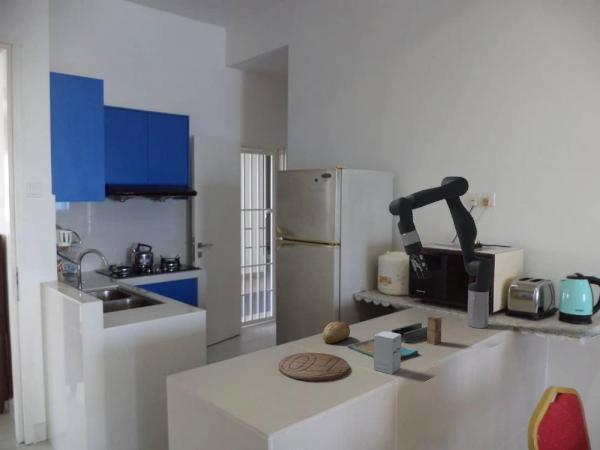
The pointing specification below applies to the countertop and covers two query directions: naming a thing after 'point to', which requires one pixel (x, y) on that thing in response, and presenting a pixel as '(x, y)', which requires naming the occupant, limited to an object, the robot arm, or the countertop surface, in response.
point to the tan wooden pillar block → (434, 330)
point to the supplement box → (387, 352)
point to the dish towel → (368, 349)
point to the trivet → (313, 367)
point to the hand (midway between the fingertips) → (424, 278)
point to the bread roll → (336, 332)
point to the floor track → (411, 332)
